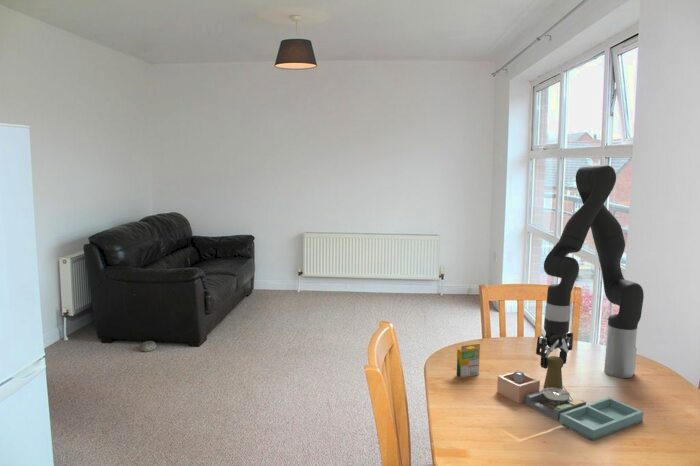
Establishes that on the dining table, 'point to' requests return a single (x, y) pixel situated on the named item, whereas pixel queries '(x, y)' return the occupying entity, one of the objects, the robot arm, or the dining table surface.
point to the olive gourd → (554, 373)
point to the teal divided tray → (601, 418)
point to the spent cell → (518, 377)
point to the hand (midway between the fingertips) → (553, 365)
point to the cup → (517, 387)
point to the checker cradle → (537, 398)
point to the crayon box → (468, 360)
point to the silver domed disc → (556, 395)
